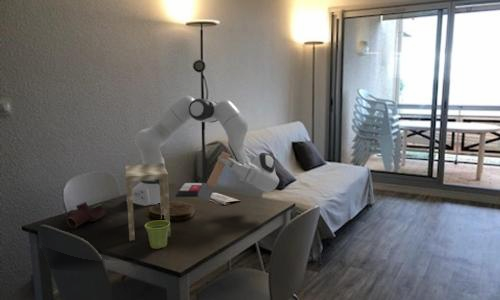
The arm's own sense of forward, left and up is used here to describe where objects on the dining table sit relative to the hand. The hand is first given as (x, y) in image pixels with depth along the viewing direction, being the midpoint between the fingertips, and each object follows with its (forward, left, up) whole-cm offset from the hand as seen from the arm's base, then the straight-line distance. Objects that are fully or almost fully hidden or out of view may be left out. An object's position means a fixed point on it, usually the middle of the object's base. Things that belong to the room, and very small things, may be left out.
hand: (219, 158), depth 179 cm
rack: (-24, -20, -29) cm, 43 cm away
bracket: (-55, -24, -29) cm, 67 cm away
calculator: (-39, +38, -30) cm, 62 cm away
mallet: (-1, -1, -9) cm, 9 cm away
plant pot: (-10, -34, -29) cm, 45 cm away
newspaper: (-17, +31, -30) cm, 46 cm away
